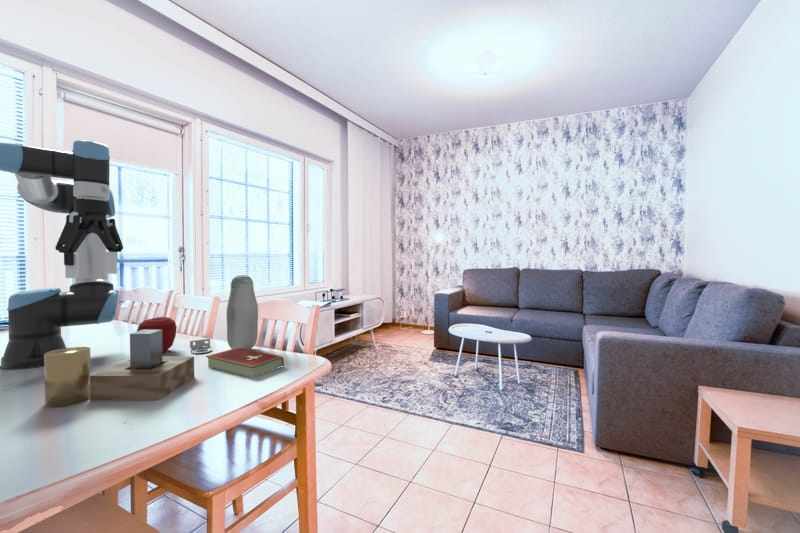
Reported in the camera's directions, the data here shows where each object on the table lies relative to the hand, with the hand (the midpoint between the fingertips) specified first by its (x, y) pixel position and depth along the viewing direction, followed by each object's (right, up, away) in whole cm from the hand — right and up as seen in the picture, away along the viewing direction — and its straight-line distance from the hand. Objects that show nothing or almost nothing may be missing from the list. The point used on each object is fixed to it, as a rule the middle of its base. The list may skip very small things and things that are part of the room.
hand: (93, 275), depth 97 cm
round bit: (+6, -30, -14) cm, 33 cm away
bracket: (+13, -29, +31) cm, 44 cm away
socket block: (+19, -30, -5) cm, 35 cm away
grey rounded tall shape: (+28, -29, +30) cm, 50 cm away
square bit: (+19, -29, -5) cm, 35 cm away
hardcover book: (+37, -30, +13) cm, 49 cm away
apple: (-1, -28, +27) cm, 39 cm away
